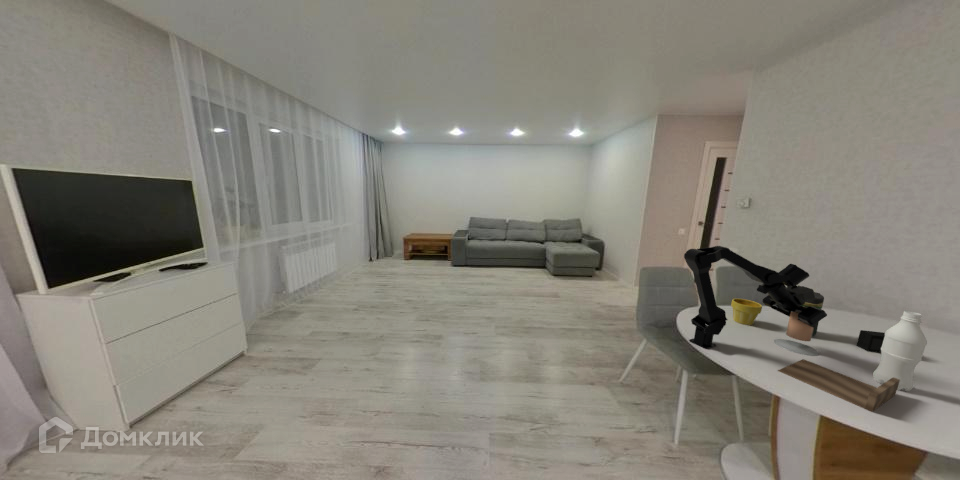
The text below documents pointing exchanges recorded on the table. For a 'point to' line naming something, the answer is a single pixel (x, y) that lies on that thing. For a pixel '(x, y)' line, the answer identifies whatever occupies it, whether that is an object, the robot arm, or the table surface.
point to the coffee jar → (816, 303)
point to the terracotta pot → (798, 328)
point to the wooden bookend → (842, 384)
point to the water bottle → (901, 351)
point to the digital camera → (870, 340)
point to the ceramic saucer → (796, 347)
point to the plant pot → (745, 311)
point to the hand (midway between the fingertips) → (805, 322)
